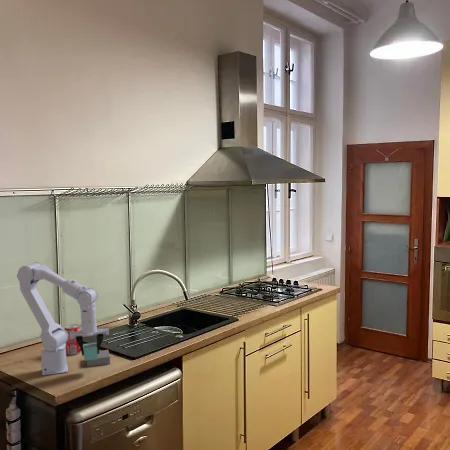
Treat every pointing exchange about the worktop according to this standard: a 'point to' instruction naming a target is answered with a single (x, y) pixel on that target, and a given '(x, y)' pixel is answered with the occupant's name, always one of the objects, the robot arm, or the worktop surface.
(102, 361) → the base slab
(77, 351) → the soda can
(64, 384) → the worktop surface
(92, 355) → the teal cube
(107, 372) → the worktop surface
